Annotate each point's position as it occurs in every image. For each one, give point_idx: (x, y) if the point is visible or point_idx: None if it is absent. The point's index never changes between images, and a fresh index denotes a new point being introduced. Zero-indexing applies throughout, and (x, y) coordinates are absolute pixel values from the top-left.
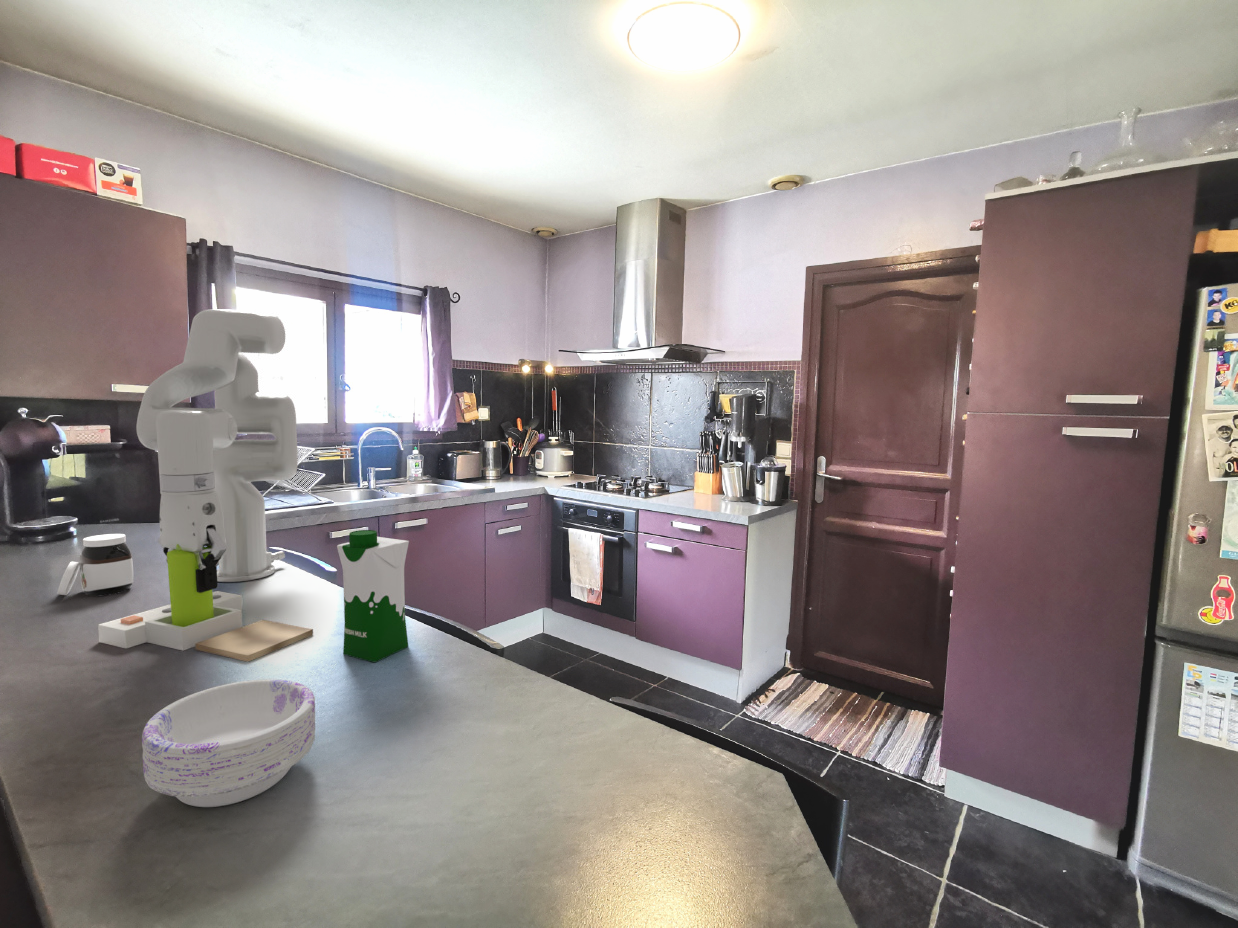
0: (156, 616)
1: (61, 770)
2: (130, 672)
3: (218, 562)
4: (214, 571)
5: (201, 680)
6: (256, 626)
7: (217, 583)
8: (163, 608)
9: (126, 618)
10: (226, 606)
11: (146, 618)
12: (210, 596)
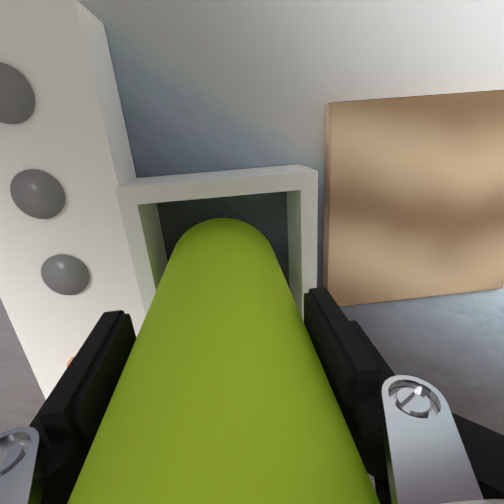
0: None
1: None
2: None
3: (442, 398)
4: (389, 369)
5: (466, 359)
6: (367, 158)
7: (328, 293)
8: (19, 273)
9: None
10: (107, 97)
11: None
12: (284, 281)
